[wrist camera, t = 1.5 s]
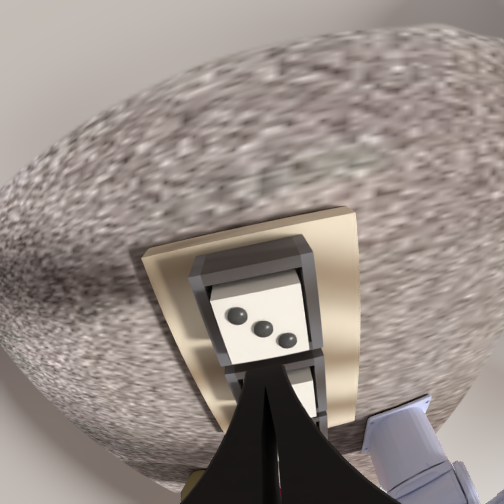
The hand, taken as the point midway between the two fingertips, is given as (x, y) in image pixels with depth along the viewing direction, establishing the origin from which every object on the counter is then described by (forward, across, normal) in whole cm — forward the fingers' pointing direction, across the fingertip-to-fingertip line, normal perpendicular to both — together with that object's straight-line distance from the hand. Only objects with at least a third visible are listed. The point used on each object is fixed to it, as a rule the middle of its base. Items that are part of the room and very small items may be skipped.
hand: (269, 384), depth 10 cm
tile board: (+8, 0, +7) cm, 11 cm away
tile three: (+6, 0, 0) cm, 6 cm away
